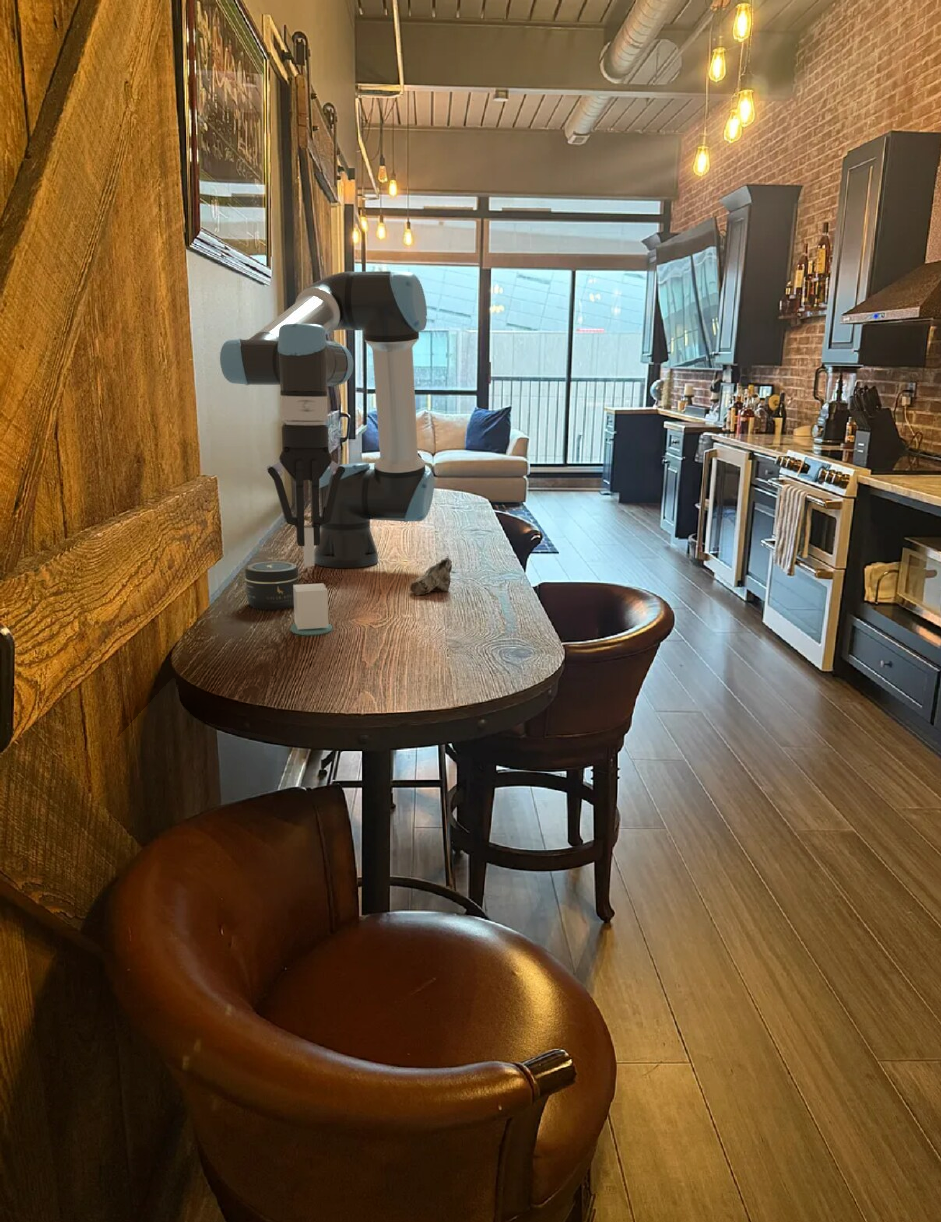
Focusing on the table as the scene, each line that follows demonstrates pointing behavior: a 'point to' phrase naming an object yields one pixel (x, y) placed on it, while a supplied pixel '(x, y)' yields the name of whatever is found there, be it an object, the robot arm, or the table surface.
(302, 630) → the teal post on base
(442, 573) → the rock
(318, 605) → the white rectangular block
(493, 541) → the table surface
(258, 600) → the jar
